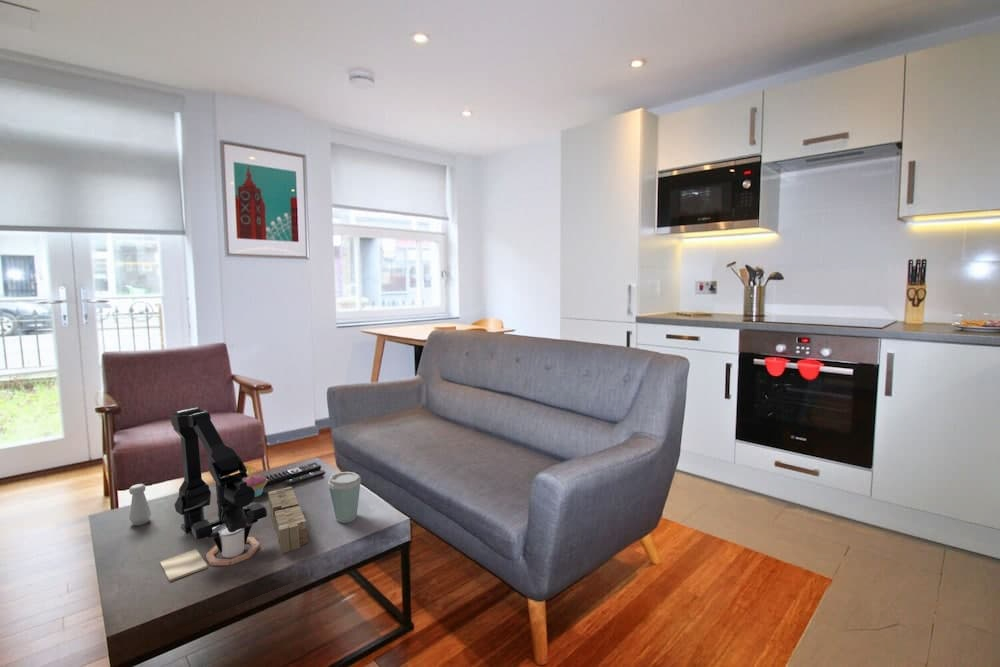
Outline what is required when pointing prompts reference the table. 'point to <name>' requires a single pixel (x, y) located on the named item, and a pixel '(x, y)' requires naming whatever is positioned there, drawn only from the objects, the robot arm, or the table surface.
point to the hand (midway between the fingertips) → (232, 547)
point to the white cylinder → (231, 542)
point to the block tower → (287, 519)
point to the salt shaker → (139, 505)
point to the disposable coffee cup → (345, 495)
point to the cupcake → (256, 482)
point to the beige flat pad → (183, 565)
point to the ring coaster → (234, 560)
